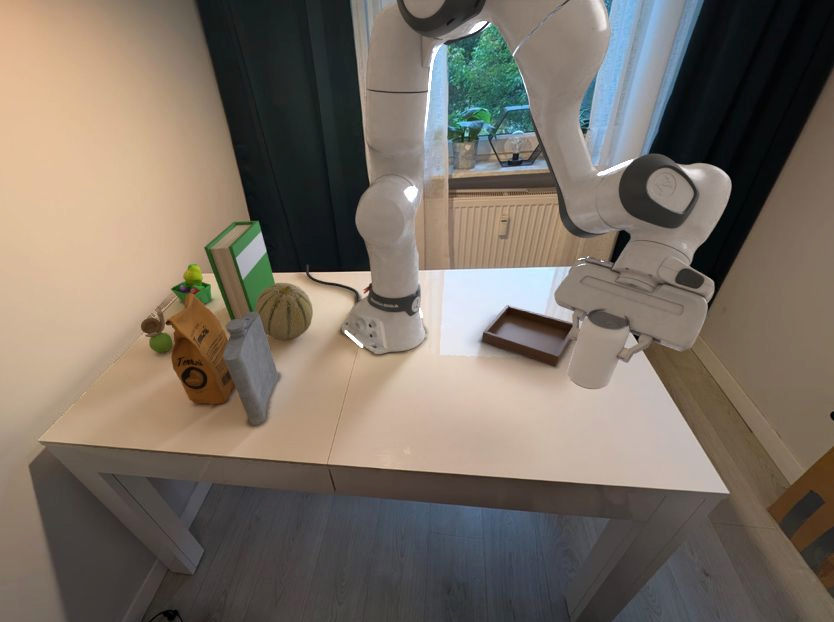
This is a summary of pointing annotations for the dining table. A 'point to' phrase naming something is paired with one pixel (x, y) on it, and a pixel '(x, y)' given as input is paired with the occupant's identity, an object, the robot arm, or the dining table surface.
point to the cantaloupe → (284, 311)
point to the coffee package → (200, 353)
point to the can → (597, 349)
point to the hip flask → (250, 364)
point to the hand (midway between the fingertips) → (596, 349)
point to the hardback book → (240, 266)
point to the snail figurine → (157, 333)
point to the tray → (529, 334)
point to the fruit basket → (193, 285)
